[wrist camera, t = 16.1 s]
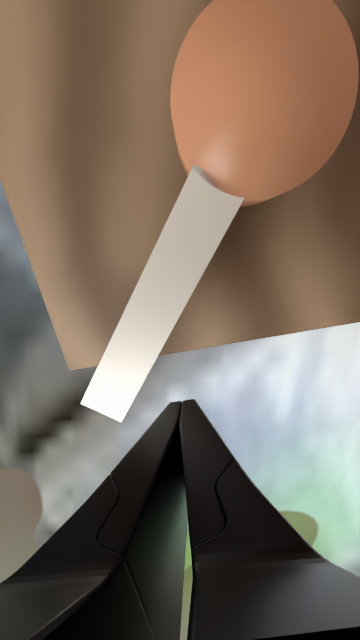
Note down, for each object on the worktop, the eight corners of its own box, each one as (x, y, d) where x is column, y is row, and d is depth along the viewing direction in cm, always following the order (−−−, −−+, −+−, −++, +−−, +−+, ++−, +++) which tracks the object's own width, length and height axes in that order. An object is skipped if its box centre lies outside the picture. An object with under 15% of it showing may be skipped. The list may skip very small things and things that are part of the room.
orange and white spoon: (219, 13, 10) (229, -74, 7) (344, 95, 11) (400, 45, 8) (71, 356, 15) (41, 386, 12) (164, 400, 15) (157, 438, 12)
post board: (512, -217, 10) (647, -405, 7) (459, 294, 16) (521, 309, 13) (-53, -20, 13) (-129, -98, 10) (78, 359, 19) (56, 384, 16)
